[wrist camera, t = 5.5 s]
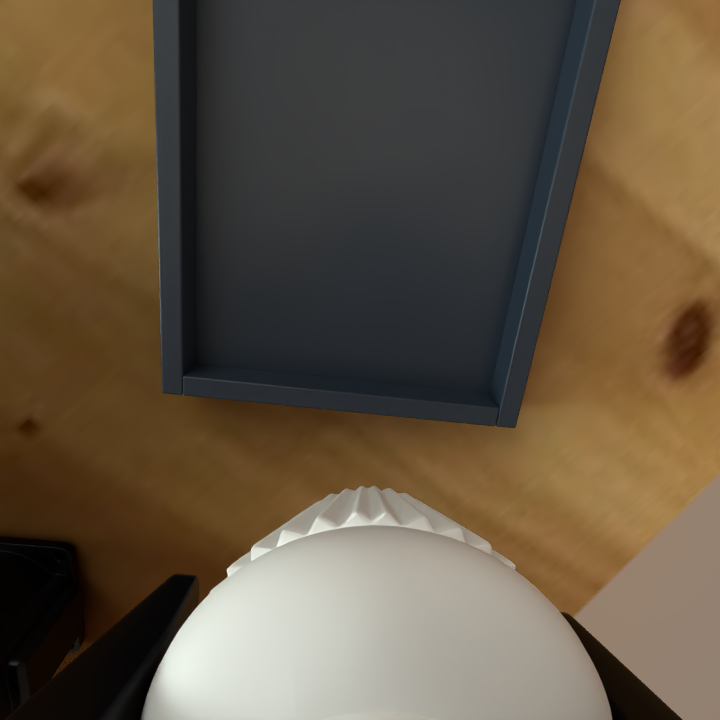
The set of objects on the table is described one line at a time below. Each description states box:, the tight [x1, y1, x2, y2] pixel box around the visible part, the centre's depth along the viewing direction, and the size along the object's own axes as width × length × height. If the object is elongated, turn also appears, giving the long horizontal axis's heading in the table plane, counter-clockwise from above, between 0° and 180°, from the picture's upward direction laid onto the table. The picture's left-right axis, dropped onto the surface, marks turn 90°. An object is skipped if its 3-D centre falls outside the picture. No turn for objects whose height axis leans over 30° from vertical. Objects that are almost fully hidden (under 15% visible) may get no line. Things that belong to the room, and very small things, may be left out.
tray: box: [153, 0, 621, 428], centre depth 15 cm, size 14×18×2 cm
